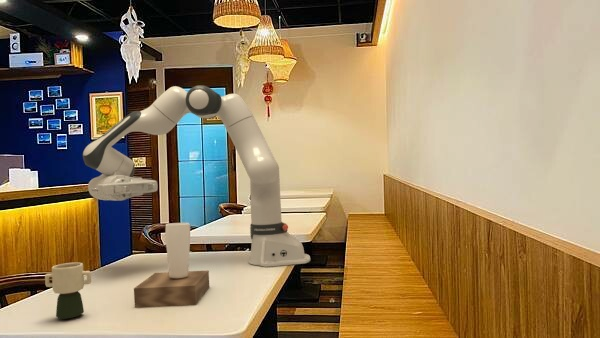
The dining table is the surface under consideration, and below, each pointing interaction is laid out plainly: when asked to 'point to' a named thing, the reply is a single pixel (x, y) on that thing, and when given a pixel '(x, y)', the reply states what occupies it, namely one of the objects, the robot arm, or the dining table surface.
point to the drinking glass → (178, 249)
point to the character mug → (68, 288)
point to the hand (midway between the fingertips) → (140, 187)
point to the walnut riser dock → (171, 289)
